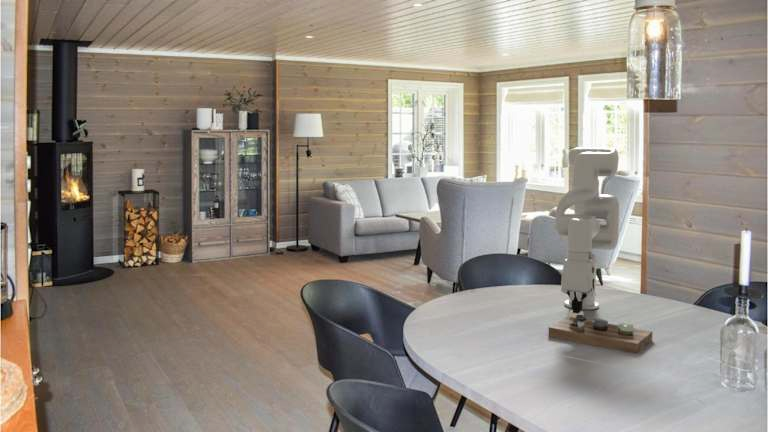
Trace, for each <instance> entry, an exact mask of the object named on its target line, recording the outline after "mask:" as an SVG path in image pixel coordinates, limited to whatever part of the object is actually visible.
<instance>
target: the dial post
mask: <svg viewBox="0 0 768 432" xmlns="http://www.w3.org/2000/svg"><path fill="white" fill-rule="evenodd" d="M587 317H588V316H586V315H576V320H578V328H577V332H580V333H583V332H584V321H586V320H588V319H587Z"/></svg>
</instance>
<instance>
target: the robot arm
mask: <svg viewBox="0 0 768 432" xmlns="http://www.w3.org/2000/svg"><path fill="white" fill-rule="evenodd" d="M567 157H568V163H569V167H570V170H571V173H572V178H571V179H572V182H571V189H570V190H568V191H567V192H566V193H565V194H564V195H563V196H562V197H561V198H560V199H559V201H558V203H557V205H556V210H555V217H554V231H555V234H556V235H557V236H559V237H561V238H562V237H566V238H567V245H566V246H567V248H566V249H567V251H566V258H565V259H564V263H563V265H562V267H563V268H562V272H561V281H560V284H561V286H560V287H561V289H560V291H561V293H563V294H566V295H567V296H568V299H567V300H565V301H564V306H565V307H567V308H570V309H572V310H573V311H572V312H573V313H579V312H581V311H583V310H585V311H589V310H590V311H592V310H596V309H598V308H599V307H600V304H599V303H598V302H597V301H596V296H597V293H596V279H597V266H598V265H597V264H598V263H597V259H596V254H593V252H592V250H606V251H612V250H614V249H616V247H617V246H618V241H619V225H620V224H619V222H620V202H619V200H618V198H617V197H616V196H615V195H613V194H600V193H599V191H600V190H599V189H600V180H599V177H610V178H613V177H615V176H616V174H617V172H618V169H619V168H618V167H619V153H618V150H617V149H616V148H614V147H592V146H589V147H587V146H584V147H583V146H579V147H574V148H571V149H570V150H569V152H568V156H567ZM570 207H574V208H573V209H574V214H570V213H569V214H568V213H567V214H566V213H565V212H566V211H567V210H568V209H569V208H570ZM600 221H604V222H605V223H600Z"/></svg>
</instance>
